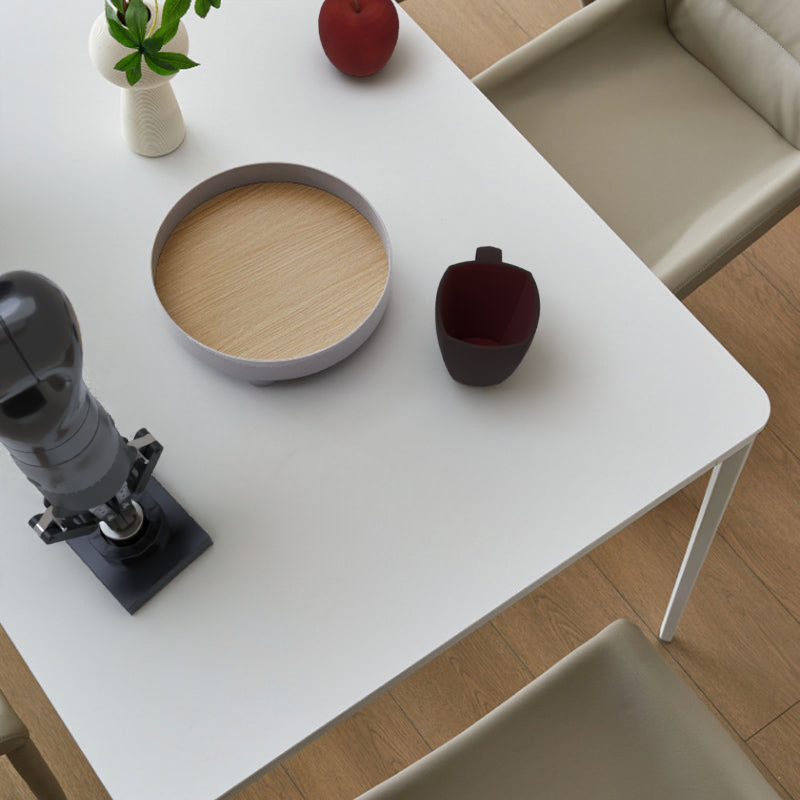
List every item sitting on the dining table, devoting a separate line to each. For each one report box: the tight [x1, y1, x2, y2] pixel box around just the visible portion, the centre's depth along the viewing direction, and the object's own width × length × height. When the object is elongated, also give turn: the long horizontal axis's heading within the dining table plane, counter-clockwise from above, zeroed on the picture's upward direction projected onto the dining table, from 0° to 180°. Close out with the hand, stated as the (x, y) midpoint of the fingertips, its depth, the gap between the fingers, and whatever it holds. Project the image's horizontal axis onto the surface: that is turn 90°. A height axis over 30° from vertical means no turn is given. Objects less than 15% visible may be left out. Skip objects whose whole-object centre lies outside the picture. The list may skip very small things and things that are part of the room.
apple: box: [317, 0, 400, 77], centre depth 119 cm, size 10×10×10 cm
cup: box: [434, 245, 541, 388], centre depth 102 cm, size 10×14×12 cm
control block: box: [64, 468, 214, 616], centre depth 96 cm, size 12×10×4 cm
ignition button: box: [99, 500, 147, 546], centre depth 94 cm, size 4×4×2 cm
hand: (121, 518), depth 93 cm, fingers closed
